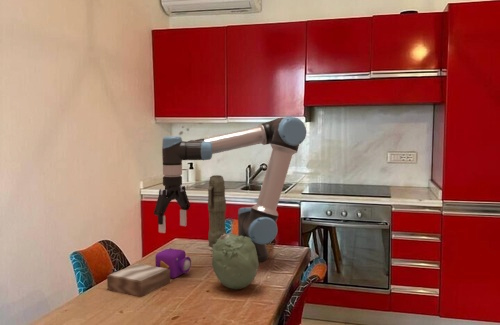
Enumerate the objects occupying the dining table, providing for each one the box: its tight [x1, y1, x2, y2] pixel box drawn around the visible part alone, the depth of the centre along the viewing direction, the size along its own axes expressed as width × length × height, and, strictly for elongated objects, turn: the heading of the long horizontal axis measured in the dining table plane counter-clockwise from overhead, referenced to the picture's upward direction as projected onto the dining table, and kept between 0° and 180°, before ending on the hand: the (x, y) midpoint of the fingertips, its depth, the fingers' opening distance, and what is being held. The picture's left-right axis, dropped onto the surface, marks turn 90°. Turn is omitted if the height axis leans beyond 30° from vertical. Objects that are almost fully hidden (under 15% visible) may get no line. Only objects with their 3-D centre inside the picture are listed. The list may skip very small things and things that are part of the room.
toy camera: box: [155, 246, 192, 279], centre depth 174 cm, size 11×14×10 cm
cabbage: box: [209, 233, 260, 290], centre depth 159 cm, size 16×19×20 cm
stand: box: [106, 262, 171, 298], centre depth 162 cm, size 16×16×5 cm
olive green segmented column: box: [207, 174, 227, 248], centre depth 217 cm, size 9×12×35 cm
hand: (173, 229), depth 173 cm, fingers open, 13 cm apart
